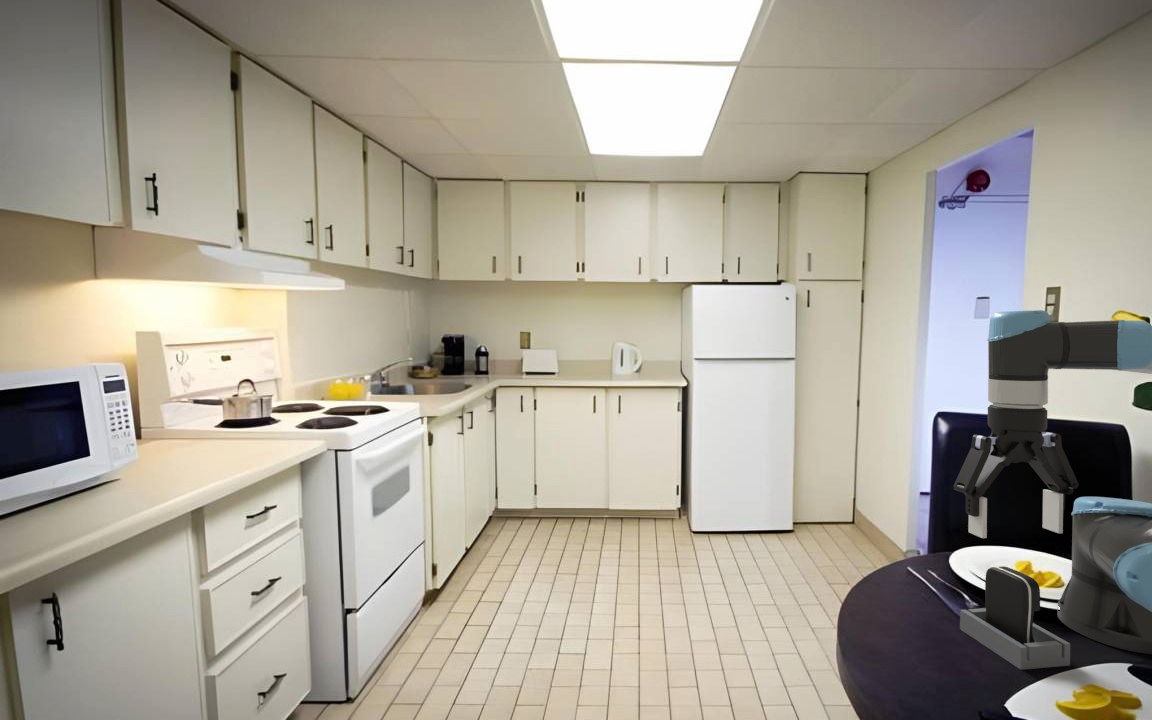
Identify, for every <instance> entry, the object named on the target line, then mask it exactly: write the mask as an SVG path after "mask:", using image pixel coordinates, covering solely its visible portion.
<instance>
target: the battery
mask: <svg viewBox="0 0 1152 720" xmlns="http://www.w3.org/2000/svg"><path fill="white" fill-rule="evenodd" d="M984 581H985V584H984V587H985V588H984V591H985V592H984V594H985V595H984V596H985V597H984V598H985V608H986V622H987V623H988V624H990V625H991V626H993V627H995V628H996V629H998V630H1000V631H1001V632H1003V633H1004V634H1006V635H1008V636H1009V637H1011V638H1013V639H1014V640H1016V641H1017V642H1019V643H1021V644H1022V645H1024V643H1035V641H1034V638H1033V634H1032V626H1033V623H1034V616H1035V612H1039V611H1041V589H1040V585H1039V583H1038V582H1037V580H1036V579H1034V578H1033V577H1031V576H1029V575H1028V574H1025V573H1022V572H1021V571H1018V570H1016V569H1013V568H1011V567H1008V566H991V567H989V568H988V569H987V570H986V572H985V580H984Z"/></svg>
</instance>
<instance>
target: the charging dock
mask: <svg viewBox="0 0 1152 720" xmlns="http://www.w3.org/2000/svg"><path fill="white" fill-rule="evenodd" d="M959 630H961V631H962V633H963V632H964V634H967V636H969V637H971V638H972V639H974V640H976V641H977V642H978V643H980V645H981V644H982V645H983V646H984V647H985V648H988V649H989V650H991V652H993V653H995V654H997V655H998V657H999V656H1000V657H1001V658H1002V659H1003V660H1005V661H1007V662H1008V663H1010V664H1011V665H1013V666H1014V667H1016V668H1017V669H1019V670H1021V671H1023V670H1032V669H1033V670H1034V669H1043V668H1057V667H1068V666H1071V643H1070V642H1068V641H1066V640H1065V639H1063V638H1061V637H1059V636H1058V635H1056V634H1054V633H1052V632H1050V631H1048V630H1046V629H1045V628H1043V627H1041V626H1039V625H1037V624H1036V623H1035V622H1033V626H1032V634H1033V638H1034V641H1035V643H1024V645H1022V644H1021V643H1019V642H1017V641H1016V640H1014V639H1013V638H1011V637H1009V636H1008V635H1006V634H1004V633H1003V632H1001V631H1000V630H998V629H996V628H995V627H993V626H991V625H990V624H988V623H987V622H986V607H982V608H968V609H960V612H959Z"/></svg>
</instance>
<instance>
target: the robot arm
mask: <svg viewBox="0 0 1152 720" xmlns="http://www.w3.org/2000/svg"><path fill="white" fill-rule="evenodd" d="M988 326H989V327H988V328H989V329H988V337H987V342H988V348H987V349H988V351H987V352H988V359H987V360H988V379H987V380H988V381H987V382H988V383H987V401H988V402H990V403H992V404H990V405H989V406H988V407H987V425H988V427H989V428H990V430H991V432H990V436H984V435H980V434H973V436H972V438H971V446H970V449H969V452H968V454H967V455H966V458H965V460H964V462H963V464H962V466H961V468H960V471H959V473H958V475H957V478H956V479H955V482H954V484H953V487H952V488H953V490H954V491H956V492H959V493H963V494H964V495H965V514H966V515H967V516H968V525H967V527H968V528H967V529H968V533H970V534H972V535H974V536H976V537H978V538H981V539H987V538H988V537H987V535H988V534H987V533H988V529H987V528H988V527H987V526H988V525H987V523H988V521H987V520H988V498H987V497H984V494H985V493H986V492H987V490H988V489H989V488H990V486H991V485H992V483H993V482H994V481H995V479H996V478H997V477H998V476H999V474H1000V473H1001V472H1002V470H1003V469H1004V468H1005V467H1008V466H1010V465H1011V464H1019V463H1022V462H1023V463H1028V464H1029V466H1030V467H1031V468H1032V469H1033V471H1034V472H1035V473H1036V474H1037V476H1038V477H1039V478H1040V479H1041V481H1043V483H1044V484H1045V486H1046V487H1047V488H1048V489H1042V527H1041V528H1042V529H1045V530H1048V531H1051V532H1053V533H1057V534H1063V533H1064V532H1063V531H1064V529H1063V528H1064V512H1065V510H1066V494H1067V495H1072V494H1073V493H1074V490H1075V489H1078V487H1079V482H1078V480H1077V478H1076V475H1075V473H1074V470H1073V468H1072V467H1071V465H1070V462H1069V459H1068V457H1067V455H1066V453H1065V450H1064V448H1063V443H1062V436H1061V434H1060V433H1054V432H1048V431H1046V430H1047V429H1048V410H1047V409H1046V408H1045V407H1044V406H1046V405H1047V404H1048V403H1049V370H1063V369H1064V370H1102V371H1103V370H1106V371H1107V370H1112V371H1119V372H1122V371H1123V372H1131V373H1139V374H1148V375H1152V324H1150V323H1149V322H1147V321H1144V320H1126V319H1125V320H1124V319H1117V320H1116V319H1115V320H1091V321H1069V322H1068V321H1067V322H1065V321H1059V322H1058V321H1051V319H1050V314H1049V312H1048V311H1046V310H1040V309H1039V310H1038V309H1037V310H1036V309H1035V310H1013V311H1009V310H1007V311H998V312H995V313H992V315H991V317H990V319H989V325H988ZM1070 514H1071V517H1072V530H1071V531H1072V534H1071V536H1072V539H1071V543H1072V545H1071V576H1070V578H1069V581H1068V583H1067V585H1066V587H1065V588H1064V590H1063V593H1062V594H1061V597H1060V599H1058V602H1057V607H1058V606H1059V607H1060V611H1058V610H1057V618H1058V619H1059V621H1060V622H1061V623H1062V624H1064V625H1065V626H1066V627H1068V628H1069V629H1071V630H1072V631H1074V632H1076V633H1078V634H1080V635H1082V636H1084V637H1086V638H1089V639H1091V640H1093V641H1096V642H1098V643H1101V644H1103V645H1104V644H1105V645H1107V646H1110V647H1114V648H1117V649H1120V650H1124V651H1129V652H1134V653H1139V654H1143V655H1144V654H1145V655H1152V503H1151V502H1145V501H1140V500H1132V499H1126V498H1125V499H1123V498H1115V497H1105V496H1080V497H1077V498H1076V499H1075V500H1074V501H1073V508H1072V512H1071V513H1070Z"/></svg>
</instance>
